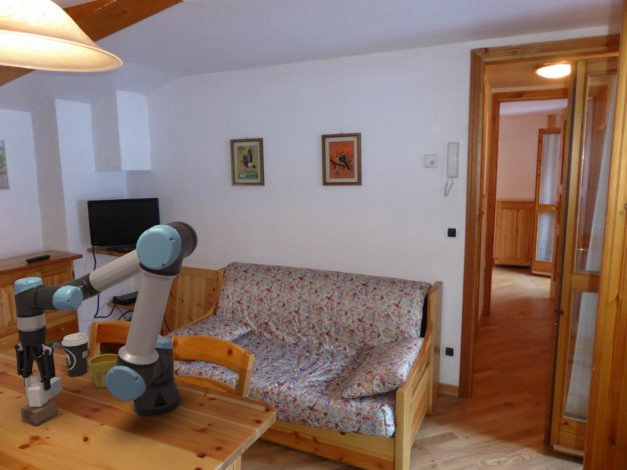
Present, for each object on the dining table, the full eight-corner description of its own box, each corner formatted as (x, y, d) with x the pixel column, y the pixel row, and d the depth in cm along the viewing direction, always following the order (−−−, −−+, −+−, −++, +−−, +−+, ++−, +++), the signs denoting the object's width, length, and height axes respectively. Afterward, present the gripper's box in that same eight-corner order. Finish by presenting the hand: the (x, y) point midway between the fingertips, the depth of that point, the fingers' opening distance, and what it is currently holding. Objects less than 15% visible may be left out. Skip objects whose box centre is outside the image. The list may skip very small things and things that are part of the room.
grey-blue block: (62, 390, 164) (61, 377, 163) (49, 400, 157) (48, 386, 156) (43, 390, 164) (42, 376, 164) (30, 399, 158) (29, 386, 157)
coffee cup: (83, 378, 173) (80, 341, 171) (58, 378, 173) (55, 341, 171) (96, 368, 182) (93, 332, 180) (72, 368, 182) (69, 332, 180)
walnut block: (57, 417, 146) (56, 402, 146) (36, 428, 140) (35, 412, 139) (43, 412, 149) (42, 398, 149) (22, 422, 143) (21, 408, 142)
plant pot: (107, 375, 176) (105, 351, 174) (126, 380, 171) (125, 355, 170) (83, 387, 166) (81, 361, 165) (103, 392, 162) (102, 366, 161)
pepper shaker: (37, 401, 146) (33, 373, 145) (48, 401, 146) (45, 373, 145) (28, 408, 142) (24, 379, 141) (40, 407, 142) (37, 379, 141)
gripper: (65, 326, 141) (71, 396, 145) (20, 320, 147) (27, 388, 150) (44, 334, 134) (51, 408, 138) (-2, 328, 140) (5, 399, 143)
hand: (38, 397), depth 144 cm, fingers open, 6 cm apart
